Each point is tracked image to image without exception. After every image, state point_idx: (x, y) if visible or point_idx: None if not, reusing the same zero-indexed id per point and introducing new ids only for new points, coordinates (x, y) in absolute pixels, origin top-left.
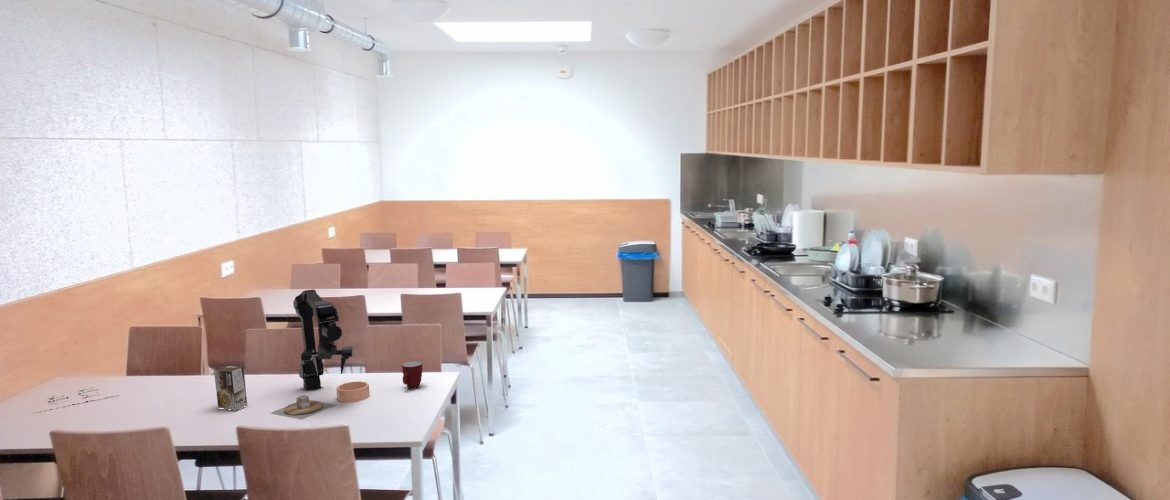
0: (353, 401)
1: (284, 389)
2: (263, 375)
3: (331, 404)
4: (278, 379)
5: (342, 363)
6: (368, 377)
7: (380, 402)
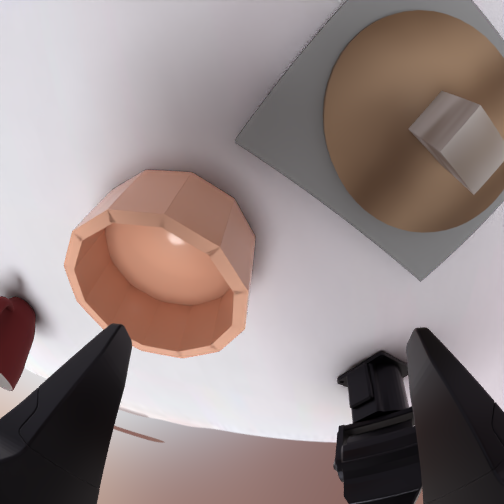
0: (139, 176)
1: None
2: None
3: (270, 153)
4: None
5: (25, 423)
6: (202, 413)
7: (37, 178)
